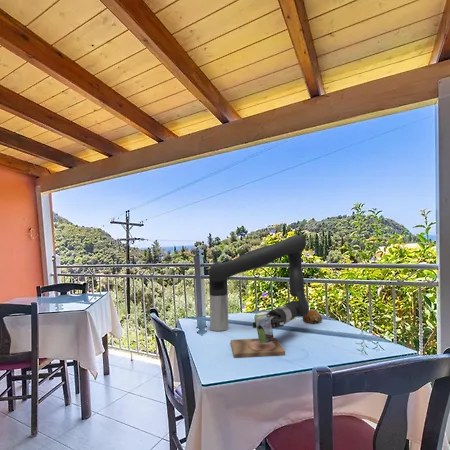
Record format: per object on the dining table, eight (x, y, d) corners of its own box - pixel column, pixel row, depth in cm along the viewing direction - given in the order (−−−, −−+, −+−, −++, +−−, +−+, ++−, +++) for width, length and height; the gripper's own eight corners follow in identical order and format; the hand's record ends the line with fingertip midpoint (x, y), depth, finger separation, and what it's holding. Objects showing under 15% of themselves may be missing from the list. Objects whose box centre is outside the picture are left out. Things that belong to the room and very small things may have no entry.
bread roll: (322, 327, 165) (322, 312, 168) (321, 323, 156) (321, 308, 160) (303, 326, 168) (303, 311, 171) (301, 322, 159) (301, 307, 163)
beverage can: (273, 346, 119) (271, 315, 120) (254, 344, 121) (253, 314, 122) (275, 340, 125) (273, 311, 126) (257, 339, 127) (256, 310, 128)
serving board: (234, 357, 118) (233, 353, 118) (230, 343, 134) (230, 339, 134) (285, 355, 119) (285, 350, 119) (276, 341, 135) (275, 337, 135)
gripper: (266, 306, 141) (243, 314, 128) (293, 310, 132) (271, 319, 119) (266, 322, 141) (243, 332, 128) (294, 327, 132) (272, 339, 119)
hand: (257, 326), depth 124 cm, fingers closed on beverage can, 3 cm apart
